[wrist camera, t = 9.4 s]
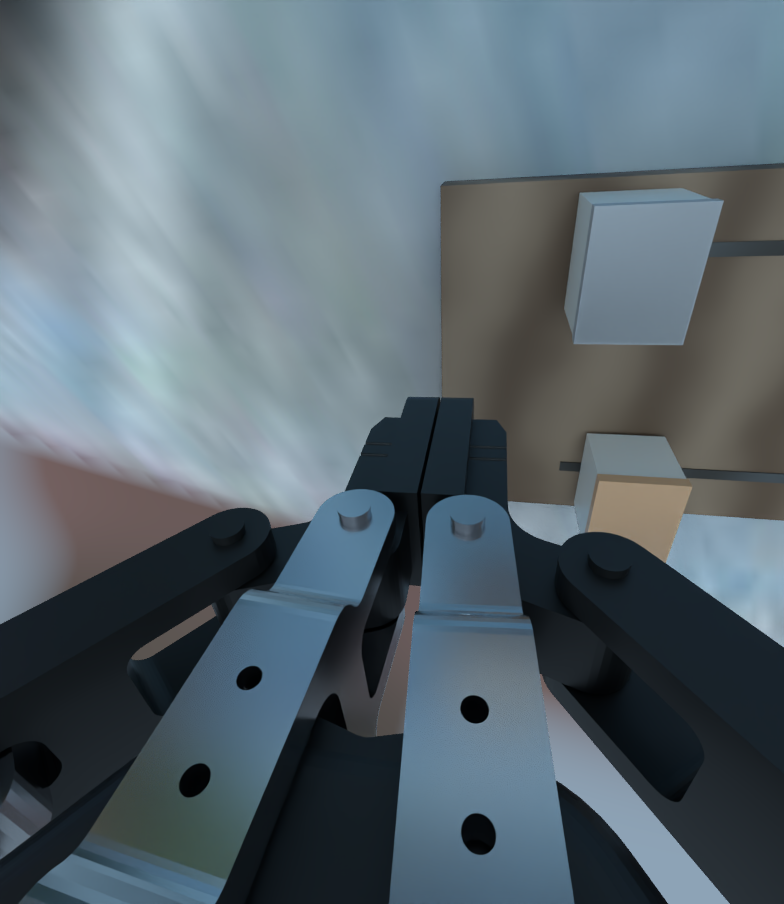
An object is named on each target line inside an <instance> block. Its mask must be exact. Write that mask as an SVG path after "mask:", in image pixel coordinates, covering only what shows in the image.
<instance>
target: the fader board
mask: <svg viewBox="0 0 784 904" xmlns="http://www.w3.org/2000/svg"><path fill="white" fill-rule="evenodd" d="M669 188H683V189H686V190H689V191H692V192H694V193H697V194H700V195H702V196H705V197H708V198H711V199H720V200H723V201H724V202H723V205H722V209H721V212H720V216H719V219H718V223H717V227H716V230H715V234H714V237H713V241H712V244H711V248H710V251H709V255H708V258H707V262H706V265H705V269H704V272H703V276H702V279H701V283H700V286H699V290H698V293H697V297H696V300H695V304H694V308H693V311H692V315H691V318H690V322H689V325H688V329H687V332H686V336H685V339H684V343H683V345H615V344H574V343H573V340H572V336H573V335H572V332H571V329H570V325H569V322H568V319H567V316H566V313H565V310H564V305H565V298H566V291H567V283H568V276H569V268H570V261H571V254H572V246H573V239H574V231H575V224H576V217H577V209H578V202H579V194H580V193H584V192H605V191H627V190H648V189H669ZM441 328H442V397H451V398H474V419H483V420H497V421H498V422H499V423H500V425H501V426H502V427H503V429H504V430H505V431H506V432H507V490H508V501H514V502H528V503H542V504H556V505H570V506H574V499H575V494H576V489H577V484H578V478H579V473H580V468H581V462H582V457H583V452H584V446H585V441H586V436H587V433H592V434H615V435H638V436H662V437H665V438H666V440H667V442H668V444H669V446H670V447H671V449H672V451H673V453H674V455H675V457H676V459H677V461H678V463H679V465H680V467H681V469H682V471H683V473H684V475H685V477H686V479H689V481H690V483H691V485H692V490H691V493H690V495H689V498H688V501H687V504H686V507H685V509H684V512H683V513H684V514H698V515H712V516H726V517H741V518H755V519H769V520H783V521H784V163H781V164H763V165H744V166H726V167H707V168H689V169H670V170H651V171H633V172H614V173H596V174H577V175H558V176H540V177H521V178H503V179H484V180H466V181H447V182H444V183H443V184H442V185H441Z"/></svg>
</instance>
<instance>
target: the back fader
mask: <svg viewBox="0 0 784 904" xmlns="http://www.w3.org/2000/svg"><path fill="white" fill-rule="evenodd" d="M691 490H692V485H691V483H690V481H689V479H686V477H685V475H684V473H683V471H682V469H681V467H680V465H679V463H678V461H677V459H676V457H675V455H674V453H673V451H672V449H671V447H670V446H669V444H668V442H667V440H666V438H665V437H662V436H638V435H615V434H592V433H587V436H586V441H585V446H584V452H583V457H582V462H581V468H580V473H579V478H578V484H577V489H576V494H575V499H574V506H575V511H576V516H577V522H578V527H579V533H580V534H581V533H586V532H606V533H612V534H616V535H619V536H622V537H625V538H628V539H630V540H632V541H634V542H636V543H637V544H639V545H640V546H642V547H643V548H645V549H646V550H648V551H649V552H650V553H652V554H653V555H655V556H656V557H657V558H659V559H660V560H662V561H663V562H664V563H666V560H667V557H668V554H669V552H670V549H671V546H672V543H673V540H674V538H675V535H676V532H677V529H678V526H679V523H680V521H681V518H682V515H683V512H684V509H685V507H686V504H687V501H688V498H689V495H690V493H691Z"/></svg>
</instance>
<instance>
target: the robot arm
mask: <svg viewBox="0 0 784 904" xmlns="http://www.w3.org/2000/svg"><path fill="white" fill-rule="evenodd" d="M409 585H416V586H421V591H420V604H419V605H420V606H419V611H416V612H415V616H414V623H413V633H412V644H411V655H410V667H409V678H408V691H407V701H406V713H405V724H404V733H402V734H394V735H386V736H377V737H376V730H377V719H378V713H379V708H380V704H381V701H382V697H383V694H384V690H385V687H386V683H387V680H388V676H389V672H390V669H391V666H392V662H393V658H394V655H395V652H396V648H397V644H398V641H399V638H400V634H401V631H402V627H403V624H404V619H405V609H404V606H405V603H406V598H407V594H408V589H409ZM209 605H212V607H213V609H214V611H215V614H216V616H215V617H214V618H212V619H211V620H209V621H207V622H206V623H204V624H203V625H201V626H199V627H198V628H196V629H195V630H193V631H192V632H190V633H188V634H187V635H185V636H184V637H182V638H180V639H179V640H177V641H176V642H174V643H172V644H171V645H169V646H168V647H166V648H165V649H163V650H161V651H160V652H158V653H157V654H155V655H154V656H152V657H150V658H147V659H144V660H132V659H131V657H132V656H133V654H134V653H135V652H136V651H137V650H139V649H140V648H141V647H143V646H144V645H146V644H147V643H149V642H151V641H152V640H154V639H155V638H157V637H159V636H160V635H162V634H163V633H165V632H167V631H168V630H170V629H172V628H173V627H175V626H176V625H178V624H180V623H182V622H183V621H185V620H186V619H188V618H190V617H191V616H193V615H194V614H196V613H198V612H199V611H201V610H203V609H204V608H206V607H208V606H209ZM540 674H542V676H543V679H544V682H545V683H546V685H547V687H548V689H549V690H550V692H551V693H552V694H553V695H554V697H555V698H556V699H557V700H558V701H559V702H560V704H561V705H562V706H563V707H564V708H565V709H566V711H567V712H568V713H569V714H570V715H571V717H572V718H573V719H574V720H575V721H576V723H577V724H578V725H579V726H580V727H581V728H582V730H583V731H584V732H585V733H586V734H587V736H588V737H589V738H590V739H591V740H592V741H593V743H594V744H595V745H596V746H597V747H598V748H599V750H600V751H601V752H602V753H603V754H604V756H605V757H606V758H607V759H608V760H609V762H610V763H611V764H612V765H613V766H614V767H615V769H616V770H617V771H618V772H619V773H620V774H621V775H622V777H623V778H624V779H625V780H626V782H627V783H628V784H629V785H630V786H631V787H632V789H633V790H634V791H635V792H636V793H637V794H638V796H639V797H640V798H641V799H642V800H643V802H644V803H645V804H646V805H647V806H648V808H649V809H650V810H651V811H652V812H653V813H654V815H655V816H656V817H657V818H658V819H659V821H660V822H661V823H662V824H663V825H664V826H665V828H666V829H667V830H668V831H669V832H670V834H671V835H672V836H673V837H674V838H675V839H676V840H677V842H678V843H679V844H680V845H681V846H682V848H683V849H684V850H685V851H686V852H687V854H688V855H689V856H690V857H691V858H692V859H693V861H694V862H695V863H696V864H697V865H698V867H699V868H700V869H701V870H702V871H703V872H704V874H705V875H706V876H707V877H708V878H709V880H710V881H711V882H712V883H713V884H714V885H715V887H716V888H717V889H718V890H719V891H720V893H721V894H722V895H723V896H724V897H725V898H726V900H727V901H728V902H729V903H730V904H784V647H782V646H781V645H779V644H778V643H777V642H775V641H774V640H772V639H771V638H770V637H768V636H767V635H765V634H764V633H763V632H761V631H760V630H758V629H757V628H756V627H754V626H753V625H751V624H750V623H749V622H747V621H746V620H744V619H743V618H742V617H740V616H739V615H737V614H736V613H735V612H733V611H732V610H730V609H729V608H728V607H726V606H725V605H723V604H722V603H721V602H719V601H718V600H716V599H715V598H713V597H712V596H711V595H709V594H708V593H706V592H705V591H704V590H702V589H701V588H699V587H698V586H697V585H695V584H694V583H692V582H691V581H690V580H688V579H687V578H685V577H684V576H683V575H681V574H680V573H678V572H677V571H676V570H674V569H673V568H671V567H670V566H669V565H667V564H666V563H664V562H663V561H662V560H660V559H659V558H657V557H656V556H655V555H653V554H652V553H650V552H649V551H648V550H646V549H645V548H643V547H642V546H640V545H639V544H637V543H636V542H634V541H632V540H630V539H628V538H625V537H622V536H619V535H616V534H612V533H606V532H586V533H581V534H578V535H575V536H573V537H571V538H570V539H568V540H567V541H566V542H565V543H564V544H563V545H562V546H560V545H557V544H554V543H550V542H547V541H544V540H541V539H539V538H536V537H534V536H532V535H530V534H528V533H527V532H525V531H524V530H522V529H521V528H520V527H519V526H517V524H516V523H515V522H514V521H513V519H512V518H511V516H510V514H509V511H508V490H507V432H506V431H505V430H504V429H503V427H502V426H501V425H500V423H499V422H498V421H497V420H483V419H474V398H451V397H442V398H441V402H440V398H439V397H408V398H407V400H406V403H405V406H404V409H403V412H402V415H401V418H389V417H385V418H384V419H383V420H381V421H380V422H379V423H378V424H377V425H375V426H374V427H373V428H372V429H371V431H370V433H369V436H368V438H367V440H366V445H364V447H363V450H362V452H361V456H360V457H359V459H358V461H357V464H356V466H355V469H354V471H353V473H352V476H351V478H350V480H349V483H348V485H347V487H346V490H345V492H341V493H339V494H336V495H334V496H333V497H331V498H329V499H328V500H326V501H325V502H324V503H323V504H322V505H321V506H320V508H319V509H318V511H317V513H316V514H315V516H314V518H313V519H312V521H309V522H306V523H302V524H296V525H290V526H284V527H278V528H273V529H271V525H270V522H269V520H268V518H267V516H266V515H265V514H263V513H262V512H260V511H258V510H255V509H251V508H235V509H230V510H226V511H223V512H220V513H217V514H215V515H213V516H211V517H209V518H207V519H205V520H203V521H201V522H199V523H197V524H195V525H193V526H192V527H189V528H188V529H186V530H183V531H182V532H180V533H178V534H176V535H174V536H172V537H170V538H168V539H166V540H164V541H162V542H160V543H158V544H156V545H154V546H152V547H150V548H148V549H147V550H145V551H143V552H141V553H139V554H137V555H135V556H133V557H131V558H129V559H127V560H125V561H123V562H121V563H119V564H117V565H115V566H113V567H111V568H109V569H108V570H105V571H104V572H102V573H100V574H98V575H96V576H94V577H92V578H90V579H88V580H86V581H84V582H82V583H80V584H78V585H77V586H74V587H72V588H70V589H68V590H67V591H65V592H63V593H61V594H59V595H57V596H55V597H53V598H51V599H49V600H47V601H45V602H43V603H41V604H39V605H37V606H35V607H33V608H32V609H29V610H27V611H26V612H24V613H22V614H20V615H18V616H16V617H14V618H12V619H10V620H8V621H6V622H4V623H2V624H0V904H668V903H667V902H666V900H665V899H664V898H663V896H662V895H661V893H660V892H659V891H658V889H657V888H656V887H655V885H654V884H653V882H652V881H651V880H650V878H649V877H648V875H647V874H646V873H645V871H644V870H643V869H642V867H641V866H640V865H639V863H638V862H637V860H636V859H635V858H634V856H633V855H632V853H631V852H630V851H629V849H628V848H627V847H626V846H625V844H624V843H623V842H622V840H621V839H620V838H619V837H618V835H617V834H616V833H615V832H614V831H613V830H612V829H611V828H610V826H609V825H608V824H607V823H606V822H605V821H604V820H603V819H602V818H601V816H599V815H598V814H597V813H596V812H595V811H594V810H593V809H592V808H591V807H590V806H589V805H587V804H586V803H585V802H584V801H583V800H582V799H581V798H580V797H578V796H577V795H576V794H574V793H573V792H572V791H570V790H569V789H568V788H566V787H565V786H564V785H562V784H561V783H559V782H558V781H556V779H555V772H554V765H553V760H552V752H551V746H550V739H549V733H548V726H547V719H546V713H545V706H544V700H543V693H542V687H541V680H540Z"/></svg>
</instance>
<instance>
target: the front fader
mask: <svg viewBox="0 0 784 904" xmlns="http://www.w3.org/2000/svg"><path fill="white" fill-rule="evenodd" d="M723 202H724V201H723V200H720V199H711V198H708V197H705V196H702V195H700V194H697V193H694V192H692V191H689V190H686V189H683V188H669V189H648V190H627V191H605V192H584V193H580V194H579V202H578V209H577V217H576V224H575V231H574V239H573V246H572V254H571V261H570V268H569V276H568V283H567V291H566V298H565V305H564V310H565V313H566V316H567V319H568V322H569V325H570V329H571V332H572V335H573V336H572V340H573V343H574V344H615V345H683V343H684V339H685V336H686V332H687V329H688V325H689V322H690V318H691V315H692V311H693V308H694V304H695V300H696V297H697V293H698V290H699V286H700V283H701V279H702V276H703V272H704V269H705V265H706V262H707V258H708V255H709V251H710V248H711V244H712V241H713V237H714V234H715V230H716V227H717V223H718V219H719V216H720V212H721V209H722V205H723Z"/></svg>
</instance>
